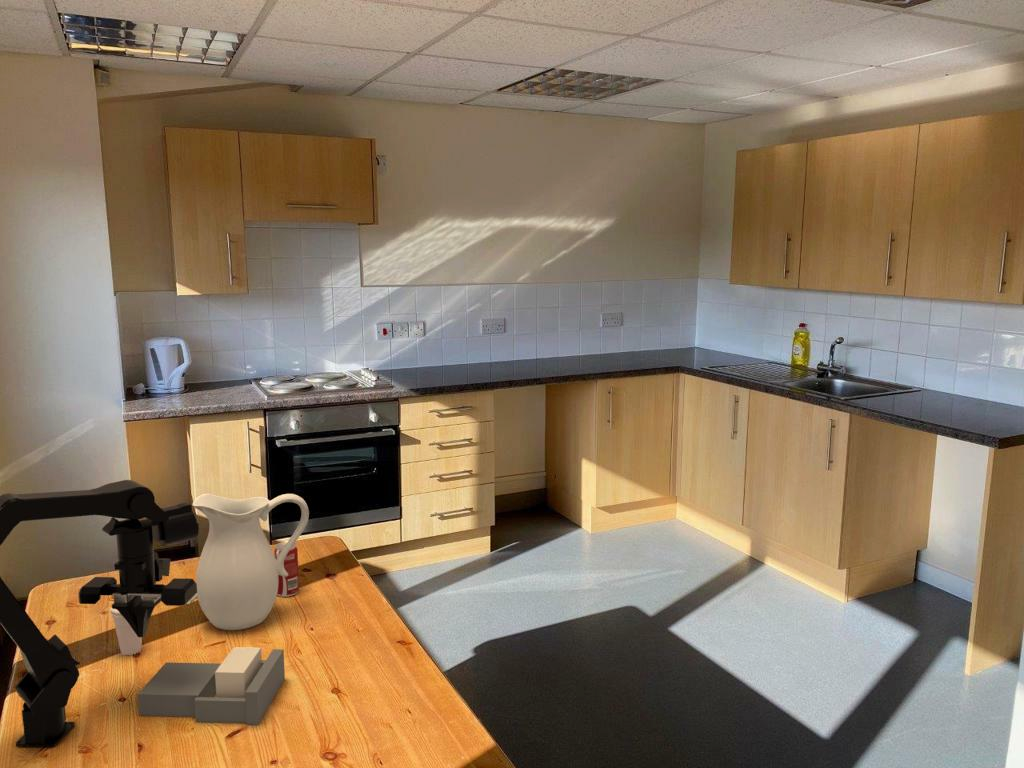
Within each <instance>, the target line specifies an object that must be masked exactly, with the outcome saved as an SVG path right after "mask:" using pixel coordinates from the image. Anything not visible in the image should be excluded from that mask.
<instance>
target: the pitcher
mask: <svg viewBox="0 0 1024 768" xmlns="http://www.w3.org/2000/svg"><path fill="white" fill-rule="evenodd" d="M284 503H294V504H297V505H298V506H299V508H300V511H301V516H300V519H299V520H300V521H299V522H298V525H297V526H296V529H295V530H294V532H293V533H292V535H291V537H290V538H289V539H288V542H287V541H286V542H287V543H286V545H285V546H284V548H283V549H282V551H281V552H280V554H279V555H278V557H277V559H275V555H274V551H273V549H272V546H271V544H270V542H269V541H268V539H267V536H266V534H265V532H264V531H263V529H262V525H261V522H260V519H261V521H263V522H267V521H268V516H269V515H268V514H269V513H270V512H271V511H272V509H274V508H276V507H277V506H278V505H281V504H284ZM191 505H192V508H194V509H197V510H198V511H199V512H201V513H202V514H204V515H205V517H206V518H207V521H208V523H209V529H208V534H207V537H206V541H205V542H204V546H203V549H202V552H201V553H200V558H199V561H198V564H197V570H196V575H195V576H196V578H195V582H196V584H197V600H198V604H199V606H200V608H201V611H202V612H203V614H204V615H205V616H206V618H207V620H208V621H209V622H210V623H211V624H212V625H213V626H214V627H215V628H217V629H220V630H225V631H239V630H245V629H246V630H247V629H249V628H253V627H255V626H257V625H259V624H261V623H263V621H265V620H266V618H267V617H268V616H269V614H270V612H271V610H272V609H273V607H274V604H275V602H276V600H277V596H278V595H277V592H278V575H281V576H285V577H286V576H288V573H287V572H286V570H285V568H284V559H285V557H286V555H287V553H288V552H289V550H290V549H291V547H292V546H293V545H294V543H296V542H297V540H298V539H299V538H300V536H301V535H302V533H303V532H304V530H305V528H306V526H307V524H308V522H309V517H310V516H309V515H310V510H309V507H308V504H307V503H306V500H304V498H303V497H301V496H299V495H297V494H295V493H285V494H283V493H282V494H281V495H278V496H276V497H274V498H273V499H271V500H270V499H268V498H267V497H265V496H254V497H248V498H243V499H235V498H229V497H224V496H221V495H216V494H212V493H203V494H200V495H198V496H197V497H196V498H195V499H194V500H193V502H192V504H191Z"/></svg>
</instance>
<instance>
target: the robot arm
mask: <svg viewBox="0 0 1024 768" xmlns="http://www.w3.org/2000/svg"><path fill="white" fill-rule="evenodd" d="M87 516H88V517H89V516H100V517H101V516H103V517H109V518H110V520H109V521H108V522H107V523H106V524H105V525H104V526H103V527H102V528H101V530H102V532H104V533H106V535H108V536H111V537H112V536H115V537H116V549H117V562H115V563H114V565H113V566H114V571H117V570H118V575H119V577H118V578H119V583H118V582H117V579H116V578H115V577H114V576H94V577H93V578H92V579H91V580H89V581H87V582H86V583H85V584H84V585H83V586H81V587H80V588H79V590H78V594H77V595H78V602H79V604H81V605H96V604H97V603H98V602H99V601H100V600H101V599H102V598H101V597H102V596H111V597H113V603H112V604H111V607H112V608H113V609H117V610H118V611H119V612H120V614H121V615H122V616H123V617H124V618H125V619H126V621H127V622H128V623H129V625H130V626H131V628H132V629H133V631H134V632H135V633H136V635H137V636H138V637H142V638H144V637H145V636H146V633H147V631H148V628H149V625H150V621H151V619H152V614H153V612H154V609H155V607H157V606H158V605H159V604H160V603H162V604H163V605H165V606H167V607H169V606H170V607H171V606H173V607H175V606H176V607H181V606H186V605H187V604H186V603H187V602H188V601H189V600H190V599H191V598H192V597H193V596H194V595H195V594H196V593H197V584H196V580H194V578H176V577H175V578H172V580H171V581H170V582H168V583H167V584H162V583H160V584H159V583H157V582H161V581H162V580H163V577H169V576H170V570H171V569H170V568H171V558H159V554H158V552H157V551H156V552H155V551H154V542H156V543H159V544H160V545H161V546H162V547H167V546H171V545H175V544H180V543H183V542H188V541H190V540H195V539H197V537H198V535H199V531H200V530H199V528H200V527H199V523H198V521H197V518H196V515H195V513H194V511H193V506H192V504H191V503H188V502H181V503H179V504H176V505H172V506H168V507H163V508H162V507H160V506H159V505H158V504H157V503H156V500H155V495H154V492H153V491H152V490H151V489H150V488H148V487H146V486H145V485H143V484H141V483H139V482H137V481H135V480H131V479H124V480H120V481H116V482H110V483H107V484H104V485H101V486H99V487H97V488H96V487H95V488H91V489H82V490H81V489H80V490H65V491H64V490H63V491H50V492H49V491H48V492H36V493H35V492H34V493H33V492H32V493H18V494H16V493H9V492H8V493H4V494H1V495H0V546H2V544H3V543H4V542H5V540H6V539H7V538H8V536H9V535H10V534H11V533H12V531H13V530H14V528H15V527H16V526H17V525H18V524H20V523H21V522H29V521H37V520H38V521H39V520H53V519H63V518H64V519H65V518H75V517H87ZM144 518H145V519H144ZM119 519H120V520H119ZM0 626H1V627H2V628H3V629H4V630H5V632H6V633H7V634H8V636H9V637H10V638H11V640H12V641H13V642H14V644H15V645H16V646H17V647H18V650H19V651H20V655H21V657H22V661H23V663H24V665H25V668H26V670H27V671H26V672H25V674H24V675H23V677H21V679H20V680H19V681H18V682H17V684H16V685H15V686H14V690H15V691H16V693H17V694H18V696H19V698H21V699H22V700H23V702H24V703H23V704H22V711H21V717H22V726H23V735H22V736H21V737H20V738H19V739H17V741H15V746H16V747H28V748H29V747H34V748H36V747H38V748H53V747H56V746H57V745H58V743H59V742H61V741H62V740H63V738H64V737H65V736H66V735H68V733H70V731H71V730H72V729H73V728H74V727H75V726H76V722H75V721H66V720H67V714H66V706H67V705H68V701H69V698H70V694H71V691H72V689H73V688H74V687H75V685H76V684H77V682H78V679H79V677H80V671H79V669H78V667H77V666H79V665H80V664H81V663H80V661H79V660H78V659H77V658H76V657H75V656H73V654H72V653H71V651H70V649H69V647H68V645H67V644H66V643H65V642H64V641H63V640H62V639H61V638H60V637H59V636H57V634H54V635H52V636H51V637H50V638H49V639H47V638H46V637H45V636H44V635H43V633H42V632H41V631H40V629H39V628H38V626H37V625H36V623H34V621H33V619H32V618H31V617H30V616H29V615H28V612H26V610H25V608H24V607H23V606H22V605H21V603H20V602H19V601H18V599H17V597H15V595H14V594H13V592H12V591H11V589H10V588H9V587H8V586H7V584H6V583H5V582H4V580H3V579H2V577H1V576H0Z"/></svg>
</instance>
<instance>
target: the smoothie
mask: <svg viewBox="0 0 1024 768" xmlns="http://www.w3.org/2000/svg"><path fill="white" fill-rule="evenodd" d="M110 615H111V616H112V619H113V623H114V627H115V633H116V637H117V641H118V646H119V651H120V654H121V653H122V654H124V655H123V656H125V655H129V656H134V655H136V653H137V654H139V653H140V652H141V651H142V643H143V637H138V636H137V635H136V633H135V632H134V631H133V629H132V628H131V626H130V625H129V623H128V622H127V621H126V619H125V618H124V617H123V616H122V615H121V614H120V612H119V611H118V610H117V609H113V608H112V606H110ZM138 652H139V653H138ZM122 654H121V655H122ZM133 654H134V655H133Z"/></svg>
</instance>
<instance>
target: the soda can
mask: <svg viewBox="0 0 1024 768" xmlns="http://www.w3.org/2000/svg"><path fill="white" fill-rule="evenodd" d="M288 541H289V540H288ZM288 541H281V542H278V543H277V544H275V547H274V548H275V549H274V551H273V553H274V556H275V559H277V557H278V555H279V554H280V552H281V551H282V549H283V548H284V546H285V545H286V543H287V542H288ZM296 544H297V543H296V542H295V543H294V545H293V546H292V547H291V549H290V550H289V552H288V553H287V555H286V557H285V559H284V568H285V570H286V572H287V573H288V576H286V577H285V576H281V575H278V592H277V596H278V597H279V596H281V597H280V598H290V597H289V596H292V597H294V596H293V595H295V594H296V595H298V593H299V592H300V584H299V583H300V581H299V580H300V579H299V554H298V547H297V545H296ZM296 595H295V596H296Z"/></svg>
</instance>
